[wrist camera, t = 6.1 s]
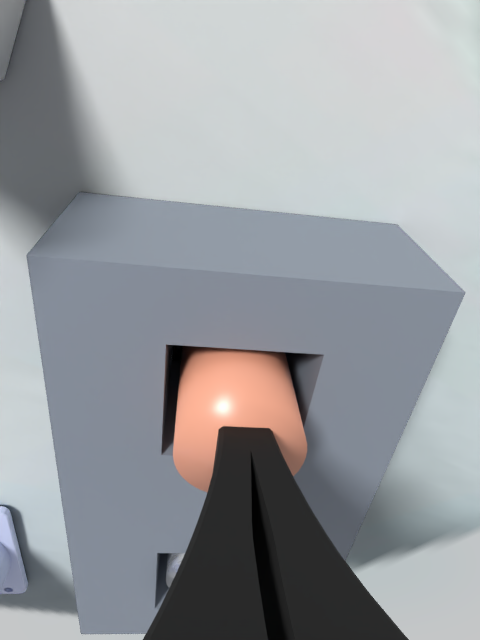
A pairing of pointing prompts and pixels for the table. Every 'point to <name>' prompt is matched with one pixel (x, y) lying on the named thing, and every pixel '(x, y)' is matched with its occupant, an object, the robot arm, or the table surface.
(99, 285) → the plug panel
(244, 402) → the terracotta plug
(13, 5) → the flask
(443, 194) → the table surface
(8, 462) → the table surface
